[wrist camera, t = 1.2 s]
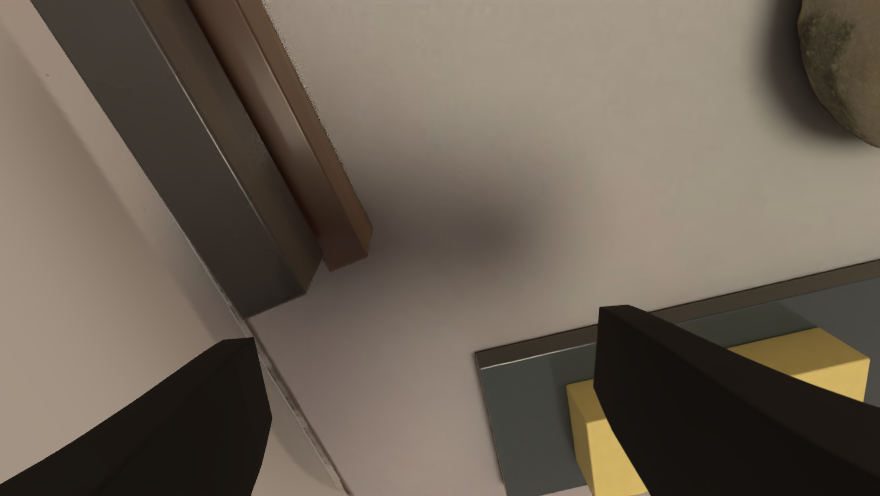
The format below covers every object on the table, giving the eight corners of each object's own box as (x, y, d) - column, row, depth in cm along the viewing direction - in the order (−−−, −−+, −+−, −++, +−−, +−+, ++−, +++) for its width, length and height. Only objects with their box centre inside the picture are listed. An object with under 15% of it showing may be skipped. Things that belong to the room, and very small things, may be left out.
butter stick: (663, 439, 22) (694, 482, 19) (660, 362, 20) (693, 399, 18) (809, 405, 22) (857, 444, 19) (818, 326, 20) (871, 358, 18)
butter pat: (575, 459, 22) (596, 504, 19) (565, 384, 20) (586, 423, 18) (638, 445, 22) (666, 488, 19) (633, 368, 20) (662, 406, 18)
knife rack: (289, 263, 18) (270, 298, 15) (134, -3, 15) (71, -20, 12) (373, 228, 18) (368, 257, 15) (236, -51, 14) (196, -80, 12)
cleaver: (304, 243, 18) (252, 338, 12) (168, 2, 15) (-6, -50, 8) (346, 226, 18) (317, 311, 12) (218, -22, 15) (80, -92, 8)
